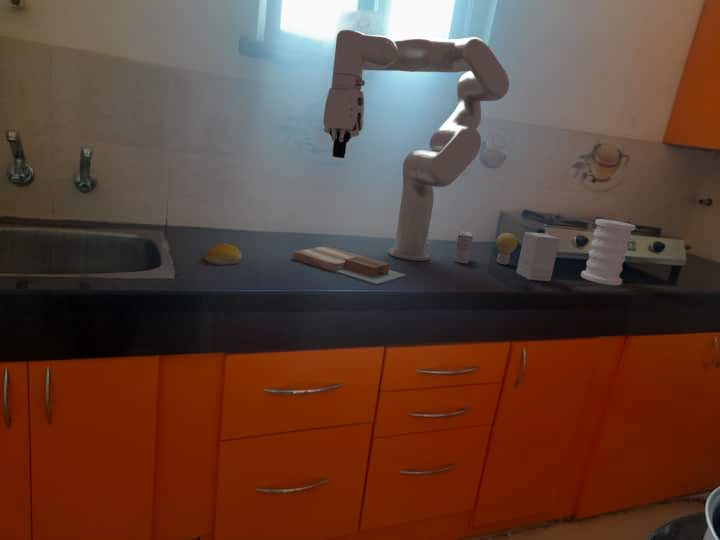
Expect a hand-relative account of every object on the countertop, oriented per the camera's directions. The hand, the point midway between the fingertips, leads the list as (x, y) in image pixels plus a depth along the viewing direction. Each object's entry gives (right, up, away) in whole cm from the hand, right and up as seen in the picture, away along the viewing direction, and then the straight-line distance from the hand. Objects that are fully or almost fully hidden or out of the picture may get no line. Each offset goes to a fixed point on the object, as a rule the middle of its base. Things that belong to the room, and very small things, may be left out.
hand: (338, 157), depth 132 cm
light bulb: (+51, -28, +27) cm, 64 cm away
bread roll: (-28, -28, -10) cm, 41 cm away
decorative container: (+80, -33, +22) cm, 89 cm away
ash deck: (-2, -28, +1) cm, 28 cm away
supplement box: (+56, -32, +14) cm, 66 cm away
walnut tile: (+7, -30, -5) cm, 31 cm away
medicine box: (+37, -27, +24) cm, 52 cm away
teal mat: (+9, -31, -6) cm, 33 cm away
